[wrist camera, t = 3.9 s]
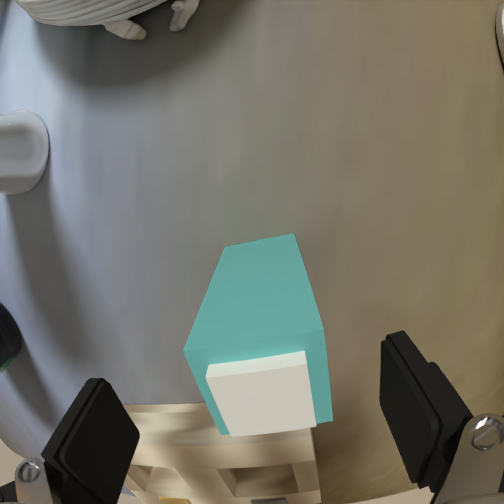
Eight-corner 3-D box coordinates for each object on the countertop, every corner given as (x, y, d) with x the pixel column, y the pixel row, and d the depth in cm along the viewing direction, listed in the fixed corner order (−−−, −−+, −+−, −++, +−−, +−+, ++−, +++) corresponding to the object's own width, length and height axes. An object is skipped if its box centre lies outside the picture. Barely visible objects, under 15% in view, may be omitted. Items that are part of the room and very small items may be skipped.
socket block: (305, 390, 21) (311, 439, 17) (317, 467, 25) (321, 505, 20) (101, 403, 23) (81, 440, 19) (153, 473, 27) (143, 505, 22)
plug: (293, 233, 18) (327, 341, 7) (304, 295, 19) (335, 433, 9) (225, 246, 18) (178, 363, 8) (240, 307, 19) (218, 447, 9)
